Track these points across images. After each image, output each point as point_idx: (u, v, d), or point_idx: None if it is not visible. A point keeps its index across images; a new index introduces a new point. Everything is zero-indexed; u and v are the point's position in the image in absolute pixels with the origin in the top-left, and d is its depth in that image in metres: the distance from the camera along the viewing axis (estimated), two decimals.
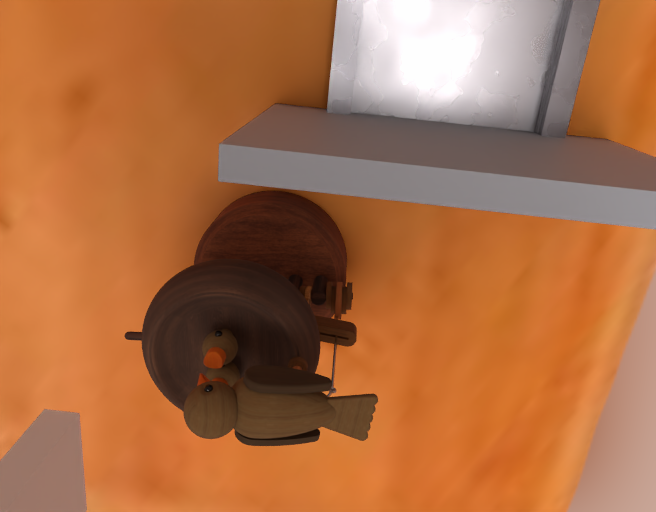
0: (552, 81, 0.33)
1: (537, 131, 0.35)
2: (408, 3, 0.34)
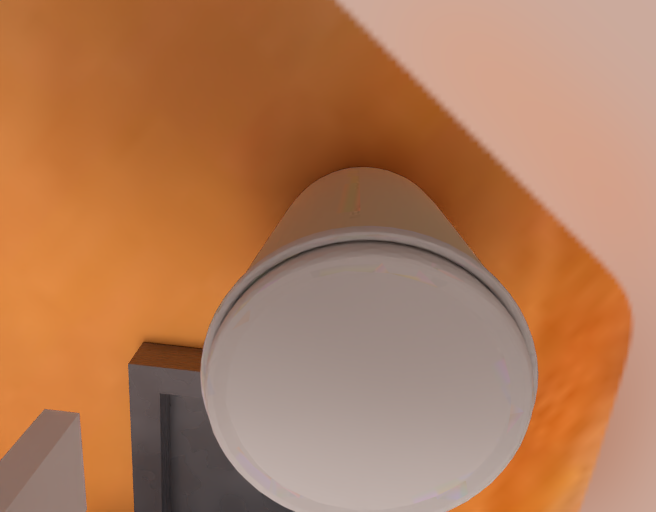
0: None
1: None
2: (220, 460, 0.30)
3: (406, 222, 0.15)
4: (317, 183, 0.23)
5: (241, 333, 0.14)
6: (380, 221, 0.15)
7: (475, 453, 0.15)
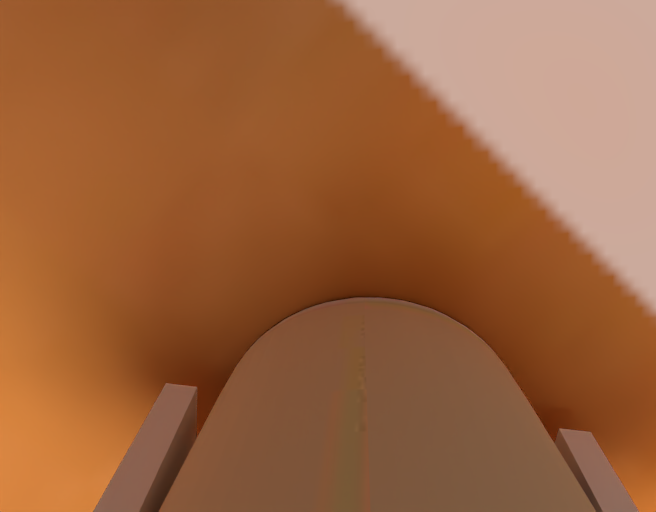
0: None
1: None
2: None
3: None
4: (280, 345, 0.11)
5: None
6: None
7: None
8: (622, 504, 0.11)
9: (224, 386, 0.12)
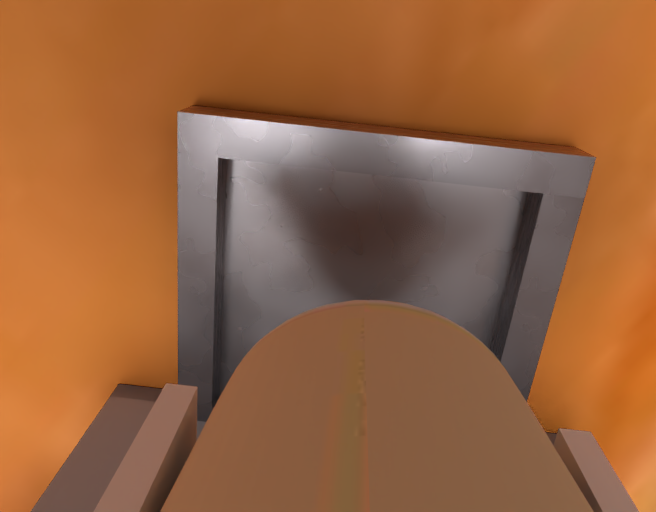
0: None
1: None
2: (287, 277, 0.24)
3: None
4: (280, 348, 0.11)
5: None
6: None
7: None
8: (622, 504, 0.11)
9: (224, 389, 0.12)
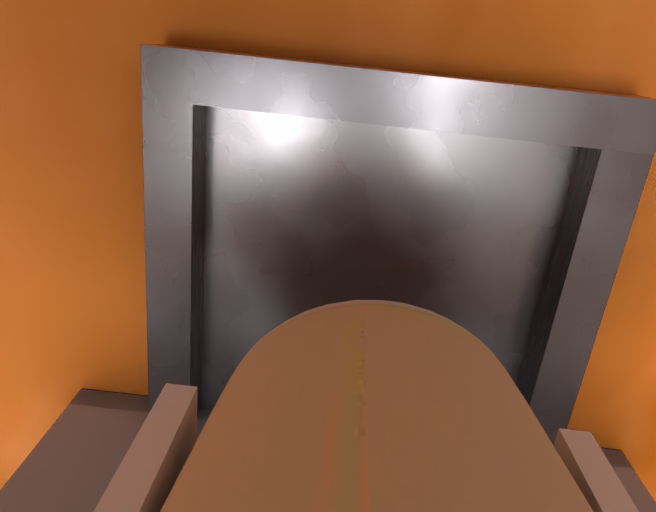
0: (529, 396, 0.19)
1: None
2: (281, 259, 0.19)
3: None
4: (280, 348, 0.11)
5: None
6: None
7: None
8: (622, 504, 0.11)
9: (224, 388, 0.13)
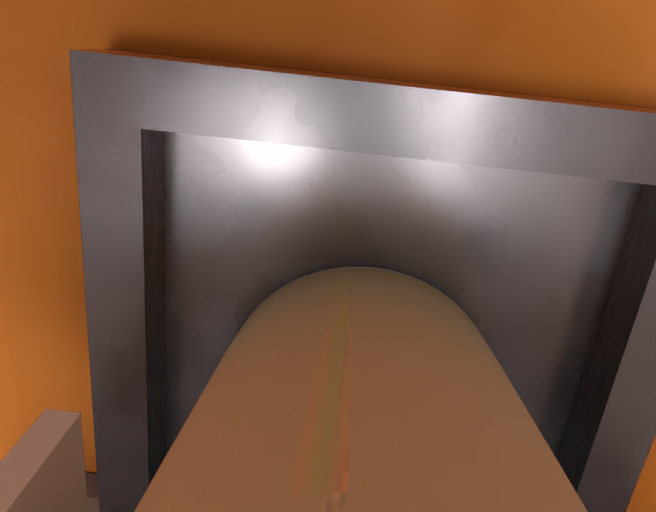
0: None
1: None
2: None
3: None
4: (280, 303, 0.13)
5: None
6: None
7: None
8: None
9: None
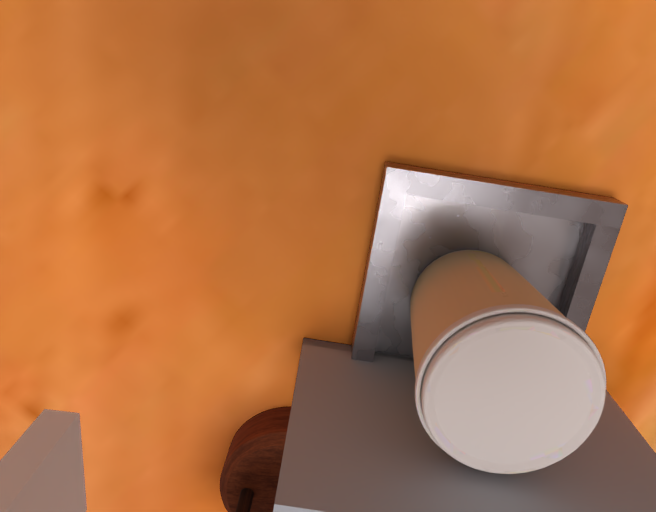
0: None
1: None
2: None
3: (534, 300, 0.28)
4: (447, 261, 0.35)
5: (451, 358, 0.26)
6: (522, 300, 0.27)
7: (569, 431, 0.27)
8: None
9: (422, 277, 0.36)
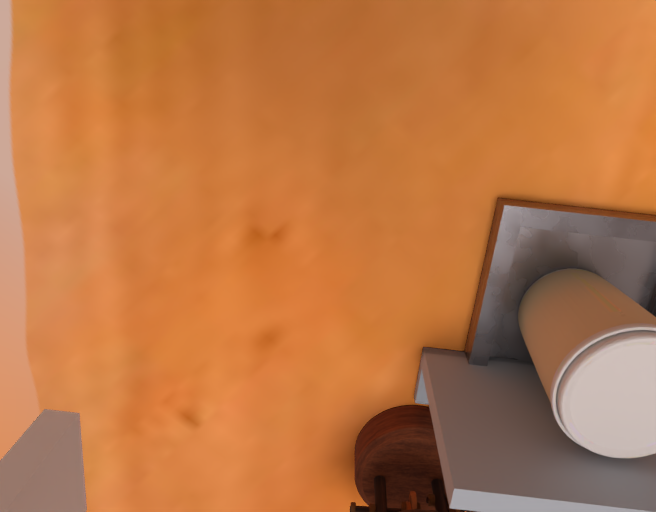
0: None
1: None
2: None
3: (648, 318, 0.34)
4: (555, 280, 0.42)
5: (585, 369, 0.33)
6: (638, 318, 0.34)
7: None
8: None
9: (531, 294, 0.43)
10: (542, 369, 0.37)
